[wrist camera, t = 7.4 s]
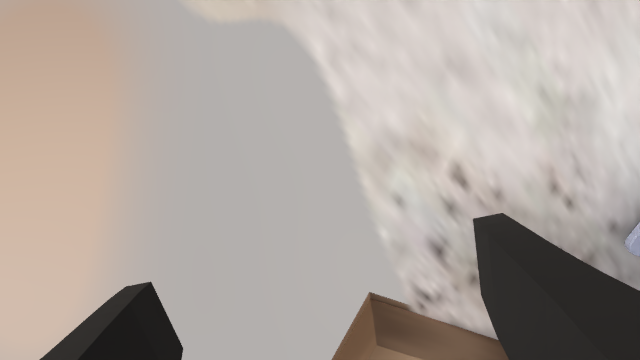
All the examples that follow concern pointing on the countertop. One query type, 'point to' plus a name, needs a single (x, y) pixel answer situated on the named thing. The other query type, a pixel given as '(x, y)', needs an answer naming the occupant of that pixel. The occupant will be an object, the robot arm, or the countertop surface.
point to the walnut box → (410, 336)
